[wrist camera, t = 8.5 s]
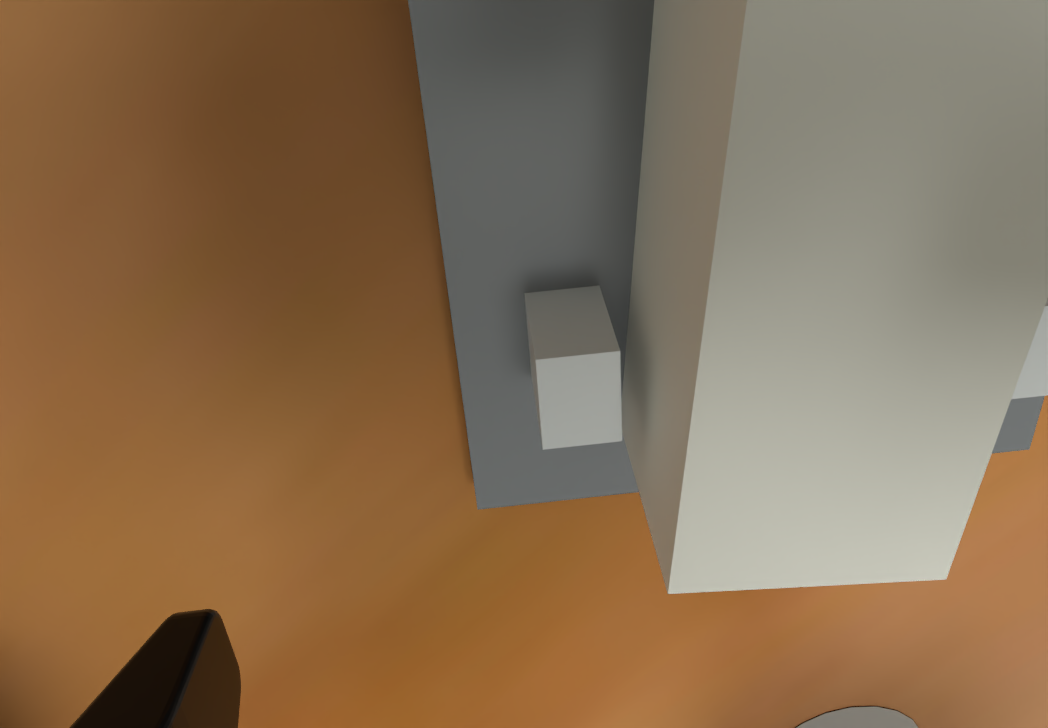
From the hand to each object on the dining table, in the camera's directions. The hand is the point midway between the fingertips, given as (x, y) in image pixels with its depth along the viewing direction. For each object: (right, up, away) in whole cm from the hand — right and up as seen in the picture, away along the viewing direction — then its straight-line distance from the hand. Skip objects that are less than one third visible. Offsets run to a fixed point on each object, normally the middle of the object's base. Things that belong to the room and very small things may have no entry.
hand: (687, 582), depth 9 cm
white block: (+3, +7, +8) cm, 11 cm away
